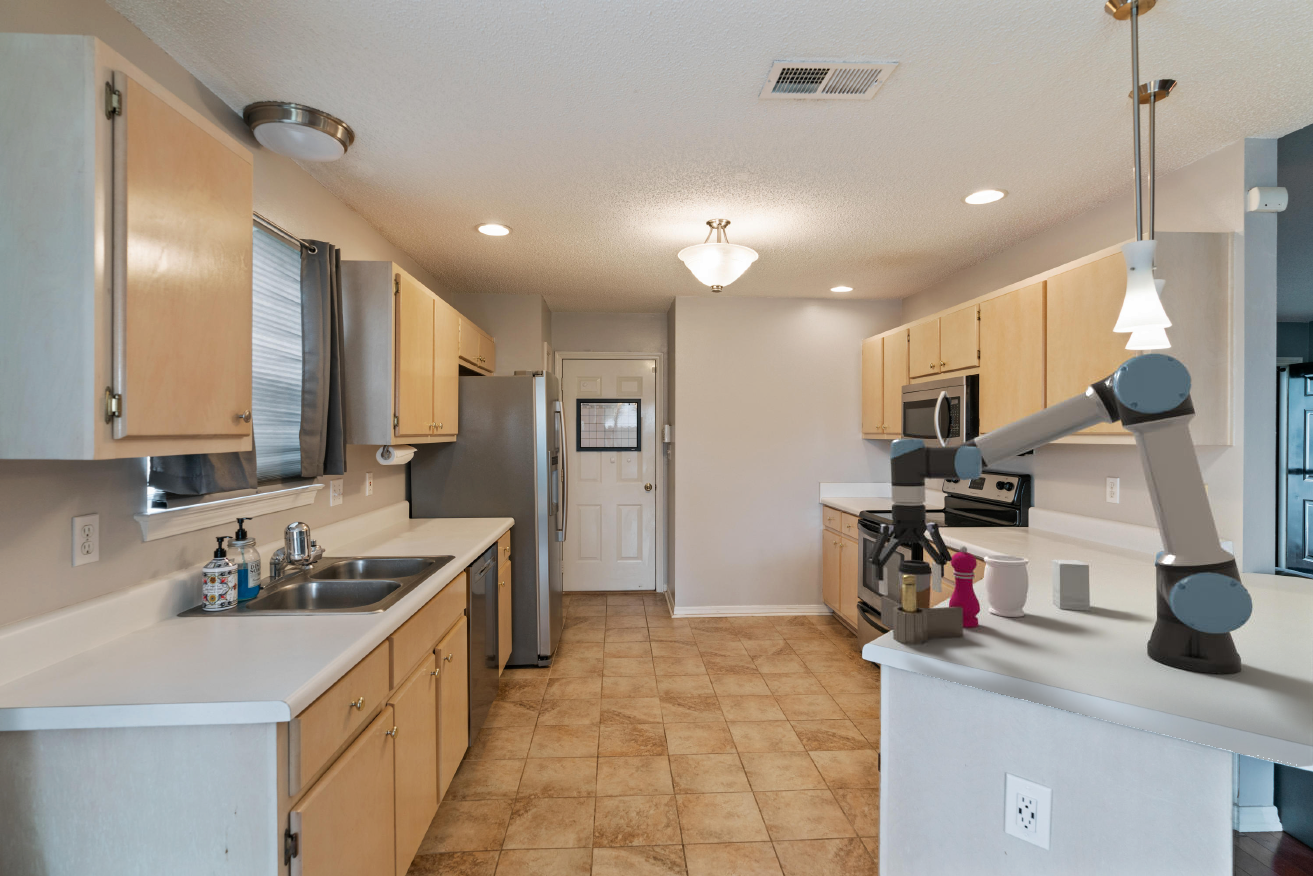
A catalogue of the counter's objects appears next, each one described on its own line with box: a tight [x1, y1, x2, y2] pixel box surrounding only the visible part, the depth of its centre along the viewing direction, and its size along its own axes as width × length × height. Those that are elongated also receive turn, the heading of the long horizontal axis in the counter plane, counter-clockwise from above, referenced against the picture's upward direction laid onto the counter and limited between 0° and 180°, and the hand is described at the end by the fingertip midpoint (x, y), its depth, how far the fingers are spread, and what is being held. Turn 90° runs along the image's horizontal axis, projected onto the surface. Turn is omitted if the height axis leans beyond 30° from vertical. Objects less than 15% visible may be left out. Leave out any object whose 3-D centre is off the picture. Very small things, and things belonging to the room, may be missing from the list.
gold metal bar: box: [902, 575, 917, 613], centre depth 150 cm, size 3×3×15 cm
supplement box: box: [1051, 559, 1091, 612], centre depth 177 cm, size 7×7×13 cm
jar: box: [983, 554, 1030, 618], centre depth 171 cm, size 11×10×15 cm
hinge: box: [880, 595, 964, 645], centre depth 155 cm, size 17×17×7 cm
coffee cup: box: [897, 559, 932, 609], centre depth 166 cm, size 8×8×15 cm
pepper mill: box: [948, 545, 981, 628], centre depth 162 cm, size 7×7×20 cm
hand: (910, 592), depth 150 cm, fingers open, 13 cm apart
